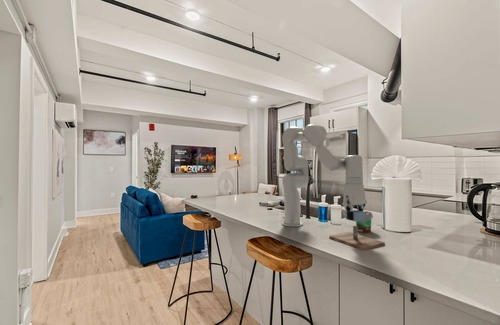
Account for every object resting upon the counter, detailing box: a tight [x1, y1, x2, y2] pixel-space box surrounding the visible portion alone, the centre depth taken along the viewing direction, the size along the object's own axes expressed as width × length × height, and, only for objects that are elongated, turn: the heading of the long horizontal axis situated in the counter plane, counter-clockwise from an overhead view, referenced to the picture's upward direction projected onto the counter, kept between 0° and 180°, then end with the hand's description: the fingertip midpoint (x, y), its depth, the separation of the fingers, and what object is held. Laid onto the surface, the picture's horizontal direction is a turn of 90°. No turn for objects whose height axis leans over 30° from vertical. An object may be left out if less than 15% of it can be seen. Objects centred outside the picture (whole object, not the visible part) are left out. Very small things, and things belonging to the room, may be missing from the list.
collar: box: [345, 209, 365, 223], centre depth 117 cm, size 6×6×4 cm
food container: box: [355, 210, 374, 234], centre depth 133 cm, size 12×6×10 cm, turn 131°
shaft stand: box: [328, 225, 386, 251], centre depth 117 cm, size 20×14×7 cm
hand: (355, 218), depth 117 cm, fingers closed on collar, 6 cm apart
